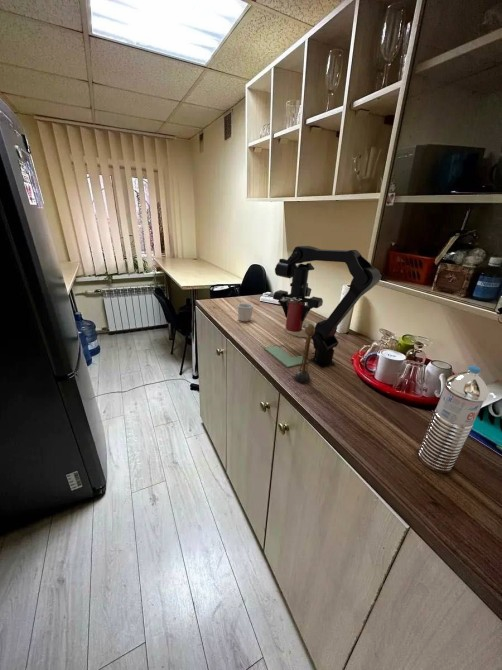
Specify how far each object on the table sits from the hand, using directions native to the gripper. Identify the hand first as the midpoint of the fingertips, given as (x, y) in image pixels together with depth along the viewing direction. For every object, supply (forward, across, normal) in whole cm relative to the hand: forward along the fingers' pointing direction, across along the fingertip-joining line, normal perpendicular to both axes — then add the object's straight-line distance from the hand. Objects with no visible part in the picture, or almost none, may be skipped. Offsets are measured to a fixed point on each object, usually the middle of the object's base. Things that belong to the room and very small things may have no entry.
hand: (294, 319), depth 109 cm
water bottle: (+14, -52, +33) cm, 63 cm away
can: (+4, 0, 0) cm, 4 cm away
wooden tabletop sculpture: (+13, -13, +19) cm, 27 cm away
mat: (+13, -1, +7) cm, 15 cm away
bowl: (+13, +4, -19) cm, 23 cm away
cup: (+8, +35, -16) cm, 39 cm away
